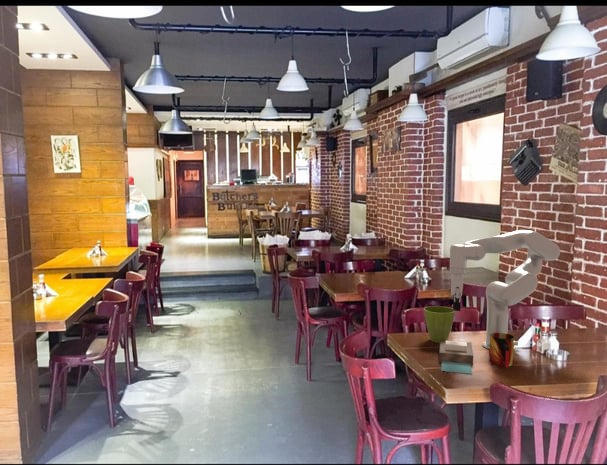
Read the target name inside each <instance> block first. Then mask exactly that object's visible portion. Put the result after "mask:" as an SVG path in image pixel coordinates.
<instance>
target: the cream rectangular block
mask: <svg viewBox="0 0 607 465" xmlns="http://www.w3.org/2000/svg"><path fill="white" fill-rule="evenodd" d="M447 340H448V339H447ZM447 340H446V350H455V351H466V352H467V342H468V341H460V342H458V341H459V340H458V341H457V340H448V341H447Z"/></svg>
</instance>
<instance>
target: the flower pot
mask: <svg viewBox="0 0 607 465" xmlns="http://www.w3.org/2000/svg"><path fill="white" fill-rule="evenodd" d="M423 311H424V312H423V313H424V314H423V315H424V319H425V325H426V329H427V333H428V336H429V338H430V341H431V342H433V343H437V344H438V343H439V344H440V340H448V338H449V336H450V334H451V330H452V327H453V323H454V318H455V313H456V311H454V310H453V307H448V306H440V305H439V306H438V305H430V306H425V307H424V308H423Z"/></svg>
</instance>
